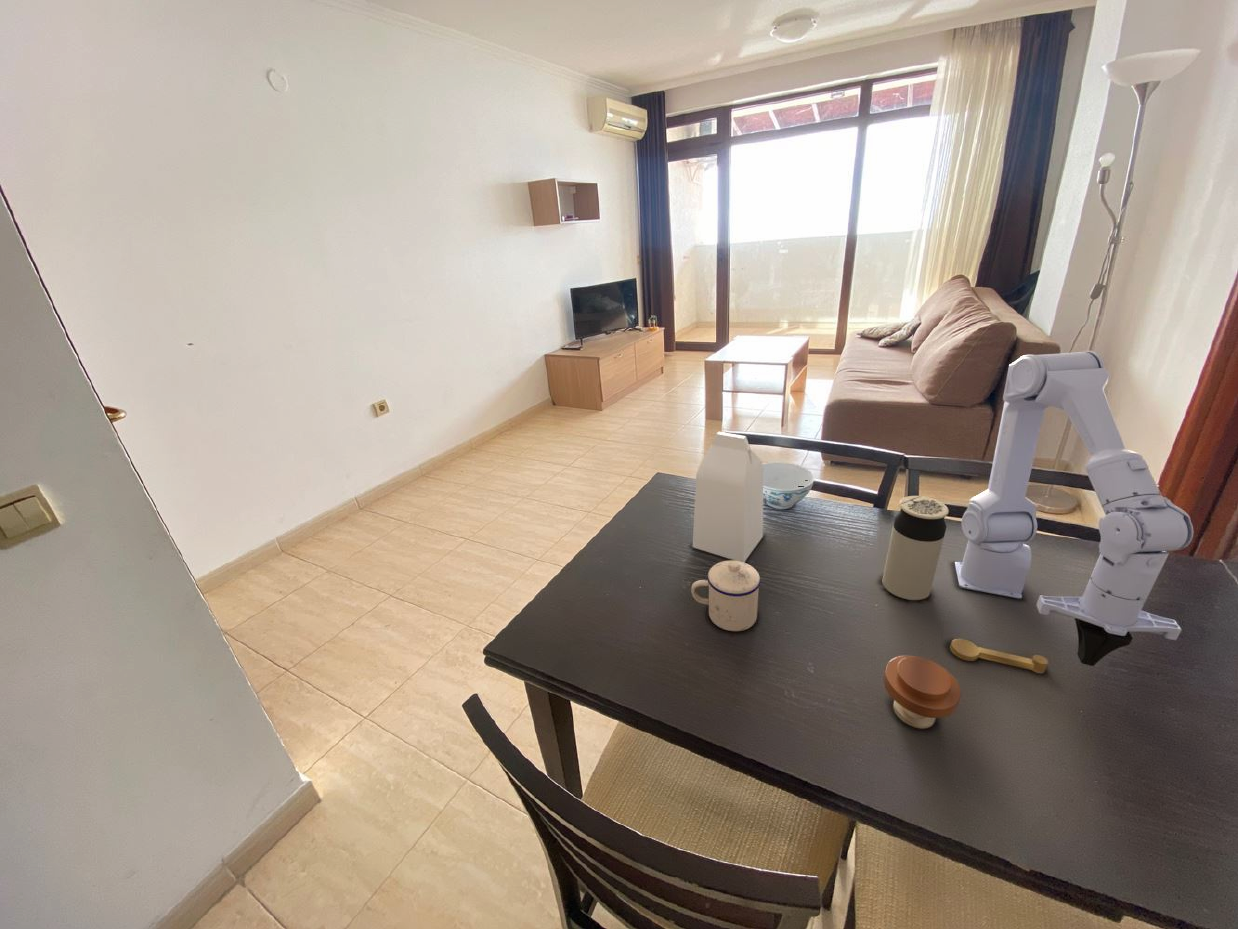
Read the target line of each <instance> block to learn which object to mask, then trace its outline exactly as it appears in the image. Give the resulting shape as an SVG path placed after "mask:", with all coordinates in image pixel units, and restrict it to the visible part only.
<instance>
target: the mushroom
mask: <svg viewBox="0 0 1238 929" xmlns="http://www.w3.org/2000/svg"><path fill="white" fill-rule="evenodd" d="M883 684H884V687H885V690H886V692H887V693H888V695H890V697H891V698H892V699H893V705H892V706H893V710H894V713H895V715H896V716H897V718H899V719H900V720H901V721H902V722H903V723H905V724H906V725H907V726H908V725H909V726H910V727H912V728H916V729H928V728H931V727H932V726H933V725H934V724H935V722H936V719H943V718H946V717H949V716H952V715H953V714H954V713H955V712H956V711H957V709H958V707H959V703H960V702H961V696H962V691H961V687H960V684H959V683H958V681H957V679H956V678H955V677H954V676H953V674H951V673H950V672H949V670H947V669H946V668H945V667H943V666H942V665H940V664H939V663H936V662H935V661H934V660H933V661H932V660H930V659H929V658H926V657H922V656H917V655H910V654H909V655H898V656H896V657H894V658H892V659H891V660H889V661H888V662H887V664H886V666H885V670H884V675H883Z"/></svg>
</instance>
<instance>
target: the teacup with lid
mask: <svg viewBox="0 0 1238 929" xmlns="http://www.w3.org/2000/svg"><path fill="white" fill-rule="evenodd" d="M760 586H761V577H760V575H759V572H758V571H757V570H756V568H755V567H753V566H752V565H750V564H748V563H746V562H740V561H735V560H732V559H729V560H724V561H723V560H722V561H720V562H718V563H715V564H714V565H712V567H711V568H710V569H709V570H708V573H707V579H699V580H696V581H695V582H693V583H692V585H691V588H690V592H691V595H692V597H693V599H694V600H695V601H696V602H698V603H699V604H702V605H708V616H709V618H710V620H711V622H712V624H714V625H716V626H717V627H718V628H720V629H722V630H726V631H730V632H742V631H745V630H748V629H750V628H751V627H753V626H754V624H755V623H756V621H757V619H758V604H759V602H758V601H759V587H760ZM699 587H708V598H707V597H703V596H701V595H699V593H697V591H696V589H697V588H699Z"/></svg>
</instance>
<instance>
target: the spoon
mask: <svg viewBox="0 0 1238 929" xmlns="http://www.w3.org/2000/svg"><path fill="white" fill-rule="evenodd" d="M949 649H950V652H951V653H952V654H953V655H954V656H955V657H957V658H958V659H961V660H963V661H967V662H975V661H976V660H978V659H983V660H987V661H991V662H995V663H998V664H999V663H1000V664H1002V665H1003V664H1004V665H1008V666H1013V667H1016V668H1020V669H1025V670H1030V671H1032V672H1034V673H1037V674H1044V673H1045V671H1046V669H1047V666H1048V664H1049V660H1048V659H1047V658H1046V657H1044V656H1043V655H1040V654H1034V655H1033V656H1032V657H1031V658H1028V657H1024V656H1020V655H1016V654H1012V653H1007V652H1003V651H998V650H993V649H989V648H985V647H979V646H977V645H976V643H974V642H972V641H970V640H967V639H965V638H955V639H953V640H952V641H951V643H950V646H949Z"/></svg>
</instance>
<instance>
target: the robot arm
mask: <svg viewBox="0 0 1238 929" xmlns="http://www.w3.org/2000/svg"><path fill="white" fill-rule="evenodd" d="M1109 379H1110V372H1108V370H1107V369H1106V364H1105V362H1104V358H1102V356H1101V355H1100V354H1099V353H1097V352H1095V351H1092V350H1084V351H1083V350H1082V351H1079V352H1077V351H1076V352H1062V353H1061V352H1060V353H1048V354H1047V353H1046V354H1045V353H1044V354H1033V353H1032V354H1024V355H1022V356H1020V357H1019V358H1018V359H1016V360H1015V361H1013V362H1012V363H1010V364H1009V365H1008V370H1007V374H1006V380H1005V385H1004V390H1003V396H1002V401H1003V408H1002V412H1001V417H1000V424H999V428H998V434H997V438H996V439H997V440H996V445H995V450H994V454H993V460H992V467H991V470H990V476H989V481H988V487H987V489H986V490H984V491H982V492H981V493H979V494H977V495H976V496H973V497H972V498H970V499H969V500H968V506H967V508H966V510H965V511H964V512H963V515H962V517H961V529H962V533H963V534H964V536H965V537H966V538H967V540H968V541H967V544H966V548H965V551H964V555H963V558H962V562H961V561H955V562H954V567H955V572H956V576H957V580H958V581H957V582H958V586H959V587H960V588H962V589H966V590H972V591H976V592H982V593H987V594H992V595H998V596H1003V597H1008V598H1014V599H1022V598H1023V595H1022V594H1023V591H1024V587H1025V584H1026V583H1027V582H1026V581H1027V579H1028V576H1029V574H1030V570H1031V566H1032V560H1033V559H1032V558H1033V557H1032V550H1031V546H1029V545H1028V544H1025V542H1030V541H1032V540H1034V538H1035V537H1036V534H1037V532H1038V521H1037V511H1038V506H1037V505H1036V503H1034V502H1033V501H1032V500H1031V499H1029V497H1027V491H1028V486H1029V481H1030V477H1031V473H1032V469H1033V464H1034V461H1035V460H1034V459H1035V455H1036V450H1037V445H1038V440H1039V437H1040V431H1041V427H1042V424H1043V418H1044V413H1045V410H1046V409H1047V408H1048V407H1052V408H1053V407H1054V408H1057V409H1060V410H1063V411H1064V412H1065V414H1066V415H1067V417H1068V418H1069V420H1070V422H1071V424H1072V425H1073V427H1074V429H1075V430H1076V432H1077V434H1078V436H1079V438H1080V439H1081V441H1082V443H1083V444H1084V446H1085V448H1086V449H1087V452H1088V453H1089V455H1090V458H1089V460H1088V461H1087V463H1086V465H1085V466H1084V470H1085V472H1086V474H1087V476H1088V479H1089V481H1090V483H1091V485H1092V488H1093V490H1094V493H1095V495H1096V497H1097V499H1098V501H1099V503H1100V505H1101V508H1102V510H1103V512H1104V514H1105V516H1104V517H1099V520H1098V532H1099V535H1100V541H1099V544H1098V547H1097V548H1098V549H1099V550H1098V552H1099V555H1098V558H1097V561H1096V563H1095V565H1094V568H1093V570H1092V573H1091V575H1090V577H1089V580H1088V583H1087V584H1086V587H1085V590H1084V592H1083V594H1082V596H1049V595H1042V594H1040V595H1039V597H1038V599H1037V602H1036V605H1035V606H1036V608H1037V610H1038V613H1039V614H1040V615H1044V616H1050V614H1054V615H1058V616H1064V617H1068V618H1073V619H1074V622H1075V627H1076V630H1077V642H1078V643H1077V644H1078V645H1077V655H1076V656H1077V657H1078V659H1079V662H1080V664H1082V665H1086V666H1091V667H1094V666H1095V665H1096V664H1097V663H1098V662H1099V661H1101V660H1103V658H1104V657H1106V656H1107V655H1109V654H1110V653H1112V652H1113V651H1116V650H1117V649H1120V648H1124V647H1126V646H1130V644H1131V643H1132V640H1134V638H1133V636H1132V634H1131V632H1132V633H1133V632H1134V633H1135V632H1136V633H1137V632H1139V633H1145V632H1146V633H1150V634H1155V635H1161V636H1163V637H1164V638H1165V639H1167V640H1172V641H1177V640H1178V638H1179V636H1180V635H1181V633H1182V630H1183V629H1182V627H1181V626H1180V625H1179V623H1178V622H1177V621H1176V619H1172V618H1168V617H1164V616H1160V615H1157V614H1154V613H1150V612H1147V611H1144V610H1143V608H1144V606H1145V603H1146V601H1147V600H1148V597H1149V595H1150V594H1151V591H1152V590H1153V587H1154V585H1155V583H1156V582H1157V580H1158V577H1159V575H1160V573H1161V571H1162V569H1163V567H1164V565H1165V563H1166V561H1167V558H1168V556H1169V554H1170V552H1174V551H1178V550H1179V551H1180V550H1183V549H1186V548H1187V547H1188V546H1189V545H1190V544H1191V542H1192V541H1193V539H1194V533H1195V532H1194V526H1193V523H1192V521H1191V520H1192V519H1191V516H1190V515H1189V514H1188V513H1187V512H1186V511H1185V510H1184V509H1183V508H1181V507H1179V506H1177V505H1175V504H1174V503H1173V502H1172V500H1171V499H1168V497H1167V496H1166V497H1164V496H1163V494H1162V492H1161V491H1160V489H1159V487H1158V484H1157V483H1156V481H1155V478H1154V477H1153V475H1152V473H1151V471H1150V469H1149V465H1148V463H1147V461H1146V460H1145V459H1144V457H1143V455H1142V454H1141V453H1138V452H1135V451H1133V450H1131V449H1128V448H1127V447H1125V444H1124V442H1123V439H1122V437H1121V433H1120V431H1119V428H1118V425H1117V422H1116V420H1115V417H1114V414H1113V412H1112V409H1111V407H1110V404H1109V402H1108V398H1107V396H1106V393H1105V389H1106V387H1107V384H1108V382H1109Z"/></svg>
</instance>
